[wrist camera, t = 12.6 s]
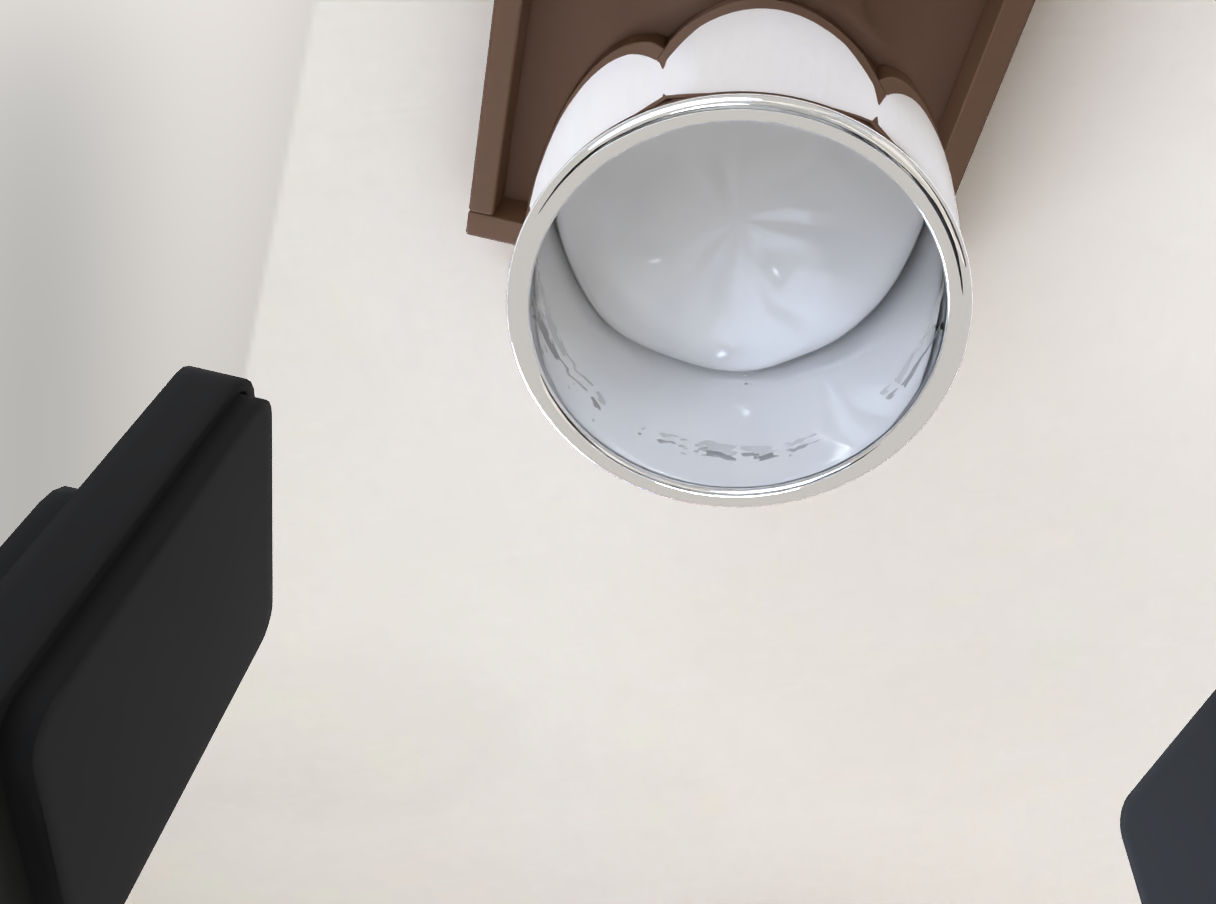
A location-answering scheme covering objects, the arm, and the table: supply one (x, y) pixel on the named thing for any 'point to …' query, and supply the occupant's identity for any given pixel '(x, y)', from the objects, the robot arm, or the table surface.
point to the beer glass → (741, 254)
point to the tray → (598, 8)
